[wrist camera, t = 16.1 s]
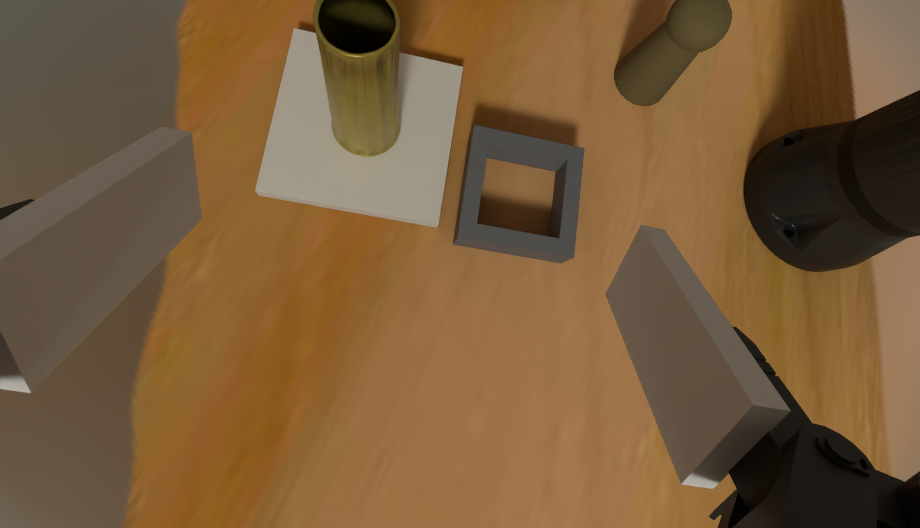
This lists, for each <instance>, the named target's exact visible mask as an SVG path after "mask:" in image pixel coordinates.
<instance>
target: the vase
mask: <svg viewBox="0 0 920 528" xmlns="http://www.w3.org/2000/svg"><path fill="white" fill-rule="evenodd" d="M313 20H314V27H315V32H316V36H317V41H318V45H319V50H320V56H321V62H322V68H323V73H324V79H325V85H326V91H327V96H328V101H329V108H330V114H331V117H332V120H331V125H332V131H333V134H334V137H335V139H336V140H337V142H338V143H339V144H340V145H341V146H342V147H343V148H344V149H345V150H347V151H348V152H350V153H352V154H355V155H358V156H363V157H372V156H376V155H380V154H382V153H384V152H386V151H388V150H389V149H390V148H391V147H392V146H393V145H394V144H395V143H396V141H397V139H398V136H399V133H400V122H399V97H398V71H399V56H400V38H401V29H400V17H399V13H398V10H397V8H396V6H395V4H394V3H393V2H392V0H317V2H316V4H315V7H314V12H313Z"/></svg>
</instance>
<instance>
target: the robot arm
mask: <svg viewBox="0 0 920 528" xmlns="http://www.w3.org/2000/svg"><path fill="white" fill-rule="evenodd" d="M745 202H746V208H747V212H748V215H749V218H750V221H751V223H752V225H753V227H754V229H755V231H756V233H757V234H758V236H759V237H760V239H761V240H762V241H763V243H764V244H765V245H766V246H767V247H768V249H769V250H770V251H771V252H773V253H774V254H775V255H776V256H777V257H779V258H780V259H781V260H783V261H784V262H786V263H788V264H790V265H792V266H794V267H796V268H799V269H802V270H806V271H813V272H823V271H830V270H837V269H843V268H848V267H851V266H854V265H857V264H859V263H861V262H863V261H865V260H867V259H869V258H871V257H872V256H874V255H876V254H878V253H880V252H882V251H884V250H885V249H888V248H889V247H891V246H893V245H895V244H897V243H899V242H901V241H903V240H905V239H906V238H909V237H914V236H919V235H920V90H919V91H917V92H915V93H912V94H910V95H908V96H906V97H904V98H902V99H899V100H897V101H895V102H893V103H891V104H889V105H886V106H884V107H882V108H880V109H878V110H876V111H874V112H872V113H870V114H868V115H866V116H863V117H861V118H859V119H857V120H854V121H848V122H841V123H835V124H829V125H823V126H817V127H811V128H805V129H800V130H796V131H793V132H790V133H788V134H786V135H784V136H782V137H780V138H778V139H776V140H774V141H772V142H771V143H769V144H767V145H766V146H764V147H763V148H762V149H761V150H760V151H759V152H758V153H757V154H756V156H755V157H754V159H753V160H752V162H751V164H750V166H749V169H748V172H747V175H746V180H745ZM201 220H202V215H201V206H200V198H199V190H198V182H197V174H196V166H195V158H194V149H193V141H192V133H191V132H186V131H182V130H177V129H172V128H167V127H160V128H159V129H157V130H155V131H153V132H152V133H150V134H148V135H146V136H145V137H143V138H141V139H140V140H138V141H136V142H135V143H133V144H131V145H129V146H128V147H126V148H124V149H123V150H121V151H119V152H117V153H115V154H114V155H112V156H110V157H109V158H107V159H105V160H104V161H102V162H100V163H98V164H96V165H95V166H93V167H92V168H90V169H88V170H86V171H84V172H83V173H81V174H79V175H78V176H76V177H74V178H72V179H71V180H69V181H67V182H65V183H64V184H62V185H60V186H59V187H57V188H55V189H54V190H52V191H50V192H48V193H47V194H45V195H43V196H41V197H40V198H38V199H36V200H32V199H30V200H26V201H23V202H19V203H16V204H13V205H10V206H6V207H3V208H0V389H6V390H13V391H20V392H27V393H32V391H34V390H35V389H36V387H37V386H38V385H39V384H40V383H41V382H42V381H43V380H44V379H45V378H46V377H47V376H48V375H49V374H50V373H51V372H52V371H53V370H54V369H55V368H56V367H57V366H58V365H59V364H60V363H61V362H62V361H63V360H64V359H65V358H66V357H67V356H68V355H69V354H70V353H71V352H72V351H73V350H74V349H75V348H76V347H77V346H78V344H80V343H81V341H83V340H84V339H85V338H86V337H87V336H88V335H89V334H90V333H91V332H92V331H93V330H94V329H95V328H96V326H97V325H98V324H99V323H100V322H101V321H102V320H103V319H104V318H105V317H106V316H107V315H108V314H109V313H110V312H111V311H112V310H113V309H114V308H115V307H116V306H117V305H118V304H119V303H120V302H121V301H122V300H123V299H124V298H125V297H126V296H127V295H128V294H129V293H130V292H131V291H132V290H133V289H134V288H135V287H136V286H137V285H138V284H139V283H140V282H141V281H142V280H143V279H144V278H145V277H146V276H147V275H148V274H149V273H150V272H151V270H152V269H153V268H155V266H156V265H157V264H158V263H159V262H160V261H161V260H162V259H163V258H164V257H165V256H166V255H167V254H168V253H169V252H170V251H171V250H172V249H173V248H174V247H175V246H176V245H177V244H178V243H179V242H180V241H181V240H182V239H183V238H184V237H185V236H186V235H187V234H188V233H189V232H190V231H191V230H192V229H193V228H194V227H195V226H196V225H197V224H198V223H199V222H200V221H201ZM606 297H607V299H608V302H609V304H610V307H611V309H612V312H613V314H614V317H615V319H616V322H617V324H618V327H619V329H620V332H621V334H622V337H623V340H624V342H625V345H626V347H627V350H628V352H629V355H630V357H631V360H632V362H633V365H634V367H635V370H636V372H637V375H638V377H639V380H640V382H641V385H642V387H643V390H644V392H645V395H646V397H647V400H648V402H649V405H650V407H651V410H652V412H653V415H654V417H655V420H656V422H657V425H658V427H659V430H660V433H661V435H662V438H663V440H664V443H665V445H666V448H667V450H668V453H669V455H670V458H671V460H672V463H673V465H674V468H675V470H676V473H677V475H678V478H679V480H680V483H681V484H683V485H690V486H697V487H704V488H711V489H714V488H715V487H716V486H717V485H718V484H719V483H720V482H721V481H722V480H723V479H724V478H725V477H726V476H727V475H728V474H730V476H731V478H732V480H733V482H734V484H735V486H736V488H737V489H736V490H735V491H734V492H733V493H732V494H731V495H730V496H729V497H728V498H727V499H726V500H725V501H723V502H722V503H721V504H720V505H719V506H718V507H717V508H716V509H715V510H714V511H713V512H712V513H711V515H710V516H709V517H710V518H711V519H713V520H715V519H716V518H717V517H718V516H719V515H722V517H721V520H720V523H719V525H718V528H920V472H918V473H917V474H915V475H914V476H912V477H911V478H910V479H908V480H907V481H905V482H904V481H901V480H899V479H897V478H894V477H892V476H889V475H887V474H885V473H882V472H880V471H877V470H875V469H874V467H873V466H872V464H871V463H870V461H869V460H868V458H867V457H866V455H864V454H863V453H862V452H861V451H860V450H859V449H858V448H857V447H856V446H855V445H854V444H853V443H852V442H850V441H849V440H848V439H846V438H845V437H844V436H842V435H841V434H839V433H837V432H835V431H833V430H831V429H829V428H827V427H825V426H821V425H817V424H812V422H811V421H810V419H809V418H808V417H807V415H806V414H805V413H804V411H803V410H802V408H801V407H800V406H799V404H798V403H797V402H796V400H795V399H794V397H793V396H792V395H791V393H790V392H789V390H788V389H787V388H786V386H785V385H784V384H783V382H782V381H781V379H780V378H779V377H778V376H775V374H776V373H775V371H774V370H773V368H772V367H771V366H770V364H769V363H767V362H766V359H765V357H764V356H763V355H762V353H761V352H760V351H759V349H758V348H757V346H756V345H755V344H754V343H753V342H752V341H751V340H750V339H749V338H748V337H747V336H746V335H744V334H743V333H742V332H741V331H740V330H739V329H738V328H737V327H732V326H731V325H730V323H729V322H728V320H727V319H726V317H725V316H724V315H723V313H722V312H721V310H720V309H719V307H718V306H717V304H716V303H715V302H714V300H713V299H712V297H711V296H710V294H709V293H708V292H707V290H706V289H705V287H704V286H703V284H702V283H701V282H700V280H699V279H698V277H697V276H696V274H695V273H694V272H693V270H692V269H691V267H690V266H689V264H688V263H687V262H686V260H685V259H684V257H683V256H682V254H681V253H680V251H679V250H678V249H677V247H676V246H675V244H674V243H673V241H672V240H671V239H670V237H669V236H668V234H667V233H666V231H665V230H663V229H658V228H653V227H648V226H643V225H641V226H640V228H639V230H638V232H637V234H636V236H635V238H634V240H633V242H632V244H631V245H630V247H629V249H628V251H627V253H626V255H625V257H624V259H623V261H622V263H621V265H620V267H619V269H618V271H617V273H616V275H615V277H614V279H613V281H612V283H611V284H610V286H609V288H608V290H607V292H606Z"/></svg>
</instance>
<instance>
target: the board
mask: <svg viewBox="0 0 920 528" xmlns="http://www.w3.org/2000/svg"><path fill="white" fill-rule="evenodd" d="M462 71H463V67H462V66H458V65H453V64H449V63H445V62H440V61H436V60H431V59H427V58H423V57H418V56H414V55H410V54H405V53H401V52H400V56H399V71H398V97H399V122H400V133H399V136H398V139H397V141H396V143H395V144H394V145H393V146H392V147H391V148H390V149H389V150H388V151H386V152H384V153H382V154H380V155H376V156H372V157H363V156H358V155H355V154H352V153H350V152H348V151H347V150H345V149H344V148H343V147H342V146H341V145H340V144H339V143H338V142H337V140H336V139H335V137H334V134H333V131H332V125H331V120H332V117H331V114H330V108H329V101H328V96H327V91H326V85H325V79H324V73H323V68H322V62H321V56H320V50H319V45H318V41H317V36H316V33H313V32H309V31H304V30H300V29H296V28H294V31H293V35H292V39H291V43H290V47H289V52H288V56H287V60H286V64H285V68H284V72H283V77H282V81H281V85H280V89H279V93H278V97H277V102H276V106H275V110H274V114H273V118H272V122H271V127H270V131H269V135H268V139H267V143H266V147H265V152H264V156H263V160H262V164H261V168H260V172H259V176H258V181H257V185H256V189H255V192H256V193H257V194H258V195H259V196H264V197H270V198H276V199H281V200H287V201H292V202H298V203H303V204H309V205H314V206H320V207H326V208H331V209H337V210H342V211H348V212H353V213H359V214H364V215H370V216H376V217H381V218H387V219H392V220H398V221H403V222H409V223H414V224H420V225H425V226H431V227H438V224H439V218H440V211H441V205H442V199H443V192H444V186H445V179H446V173H447V167H448V160H449V154H450V148H451V141H452V135H453V128H454V122H455V116H456V109H457V103H458V97H459V90H460V84H461V77H462Z"/></svg>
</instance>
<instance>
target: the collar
mask: <svg viewBox="0 0 920 528" xmlns="http://www.w3.org/2000/svg"><path fill="white" fill-rule="evenodd" d="M583 157H584V148H581V147H576V146H572V145H567V144H562V143H558V142H553V141H548V140H543V139H539V138H534V137H529V136H525V135H520V134H515V133H510V132H506V131H501V130H496V129H492V128H487V127H482V126H477V125H474V127H473V130H472V132H471V135H470V137H469V140H468V147H467V153H466V160H465V167H464V173H463V180H462V187H461V194H460V200H459V207H458V214H457V220H456V227H455V234H454V240H453V244H455V245H460V246H466V247H472V248H477V249H483V250H489V251H494V252H500V253H506V254H511V255H517V256H523V257H528V258H534V259H540V260H545V261H551V262H557V263H563V262H565V261H567V260H570V259H572V258H574V250H575V240H576V230H577V219H578V209H579V199H580V188H581V178H582V167H583ZM486 158H491V159H496V160H501V161H506V162H511V163H516V164H521V165H526V166H531V167H535V168H540V169H545V170H550V171H555V172H556V176H555V185H554V194H553V204H552V213H551V222H550V231H549V237H548V236H543V235H537V234H532V233H526V232H521V231H515V230H510V229H504V228H499V227H494V226H488V225H483V224H477V220H478V213H479V206H480V199H481V192H482V185H483V178H484V170H485V163H486Z"/></svg>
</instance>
